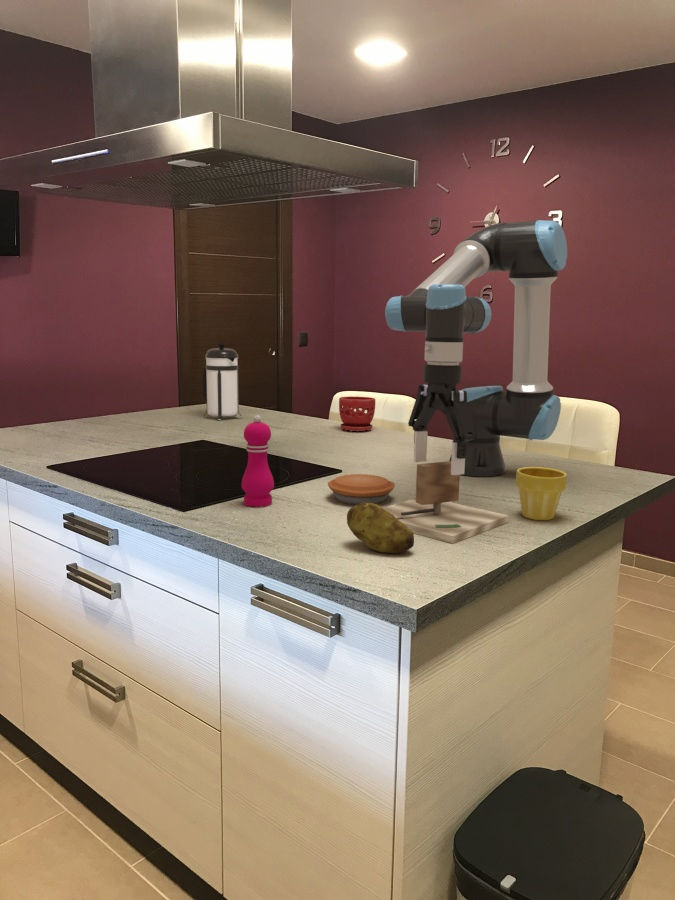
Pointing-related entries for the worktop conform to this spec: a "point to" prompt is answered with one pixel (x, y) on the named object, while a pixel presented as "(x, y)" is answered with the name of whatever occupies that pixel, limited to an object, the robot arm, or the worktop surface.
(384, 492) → the pie
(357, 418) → the plant pot
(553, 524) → the worktop surface
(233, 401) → the coffee press
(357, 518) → the potato
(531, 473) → the plant pot
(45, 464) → the worktop surface
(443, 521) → the plate
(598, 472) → the worktop surface
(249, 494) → the pepper mill
